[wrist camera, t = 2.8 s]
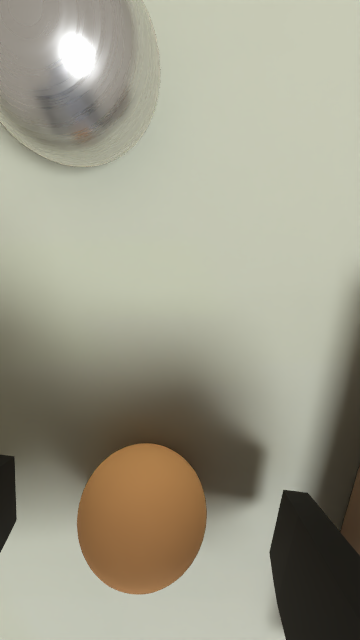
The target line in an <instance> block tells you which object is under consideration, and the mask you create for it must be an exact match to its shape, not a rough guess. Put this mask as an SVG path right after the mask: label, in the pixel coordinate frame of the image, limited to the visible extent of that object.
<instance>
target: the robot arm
mask: <svg viewBox="0 0 360 640" xmlns="http://www.w3.org/2000/svg"><path fill="white" fill-rule="evenodd" d="M15 522H16V492H15V463H14V456H6V455H0V552H1V550H2V548H3V546H4V544H5V542H6V540H7V538H8V536H9V534H10V532H11V530H12V528H13V526H14V524H15ZM270 559H271V566H272V574H273V580H274V587H275V593H276V599H277V604H278V609H279V613H280V617H281V621H282V625H283V629H284V633H285V637H286V640H360V555H359V554H358V553H357V552H356V550H355V549H354V548H353V547H352V546H351V545H350V543H349V542H348V541H347V540H346V539H345V537H344V536H343V535H342V534H341V533H340V531H339V530H338V529H337V528H336V527H335V525H334V524H333V523H332V522H331V521H330V519H329V518H328V517H327V516H326V514H325V513H324V512H323V511H322V510H321V508H320V507H319V506H318V505H317V504H316V502H315V501H314V500H313V499H312V498H311V496H310V495H309V494H308V493H304V492H296V491H288V490H283V494H282V499H281V503H280V508H279V512H278V517H277V521H276V526H275V530H274V535H273V539H272V544H271V548H270Z"/></svg>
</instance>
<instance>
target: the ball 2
mask: <svg viewBox="0 0 360 640" xmlns="http://www.w3.org/2000/svg"><path fill="white" fill-rule="evenodd" d="M206 518H207V510H206V500H205V495H204V491H203V488H202V485H201V483H200V480H199V478H198V476H197V474H196V473H195V471H194V469H193V468H192V467H191V466H190V464H189V463H188V462H187V461H186V460H185V459H184V458H183V457H182V456H180V455H179V454H178V453H176V452H175V451H173V450H171V449H169V448H167V447H164V446H161V445H157V444H150V443H142V444H135V445H130V446H127V447H124V448H122V449H120V450H118V451H116V452H115V453H113V454H111V455H110V456H109V457H108V458H106V459H105V460H104V461H103V462H102V463H101V464H100V465H99V466H98V467H97V468H96V470H95V471H94V472H93V474H92V475H91V477H90V478H89V480H88V482H87V484H86V486H85V488H84V491H83V493H82V496H81V500H80V503H79V508H78V516H77V531H78V539H79V543H80V547H81V550H82V553H83V556H84V558H85V560H86V561H87V563H88V565H89V567H90V568H91V570H92V571H93V572H94V574H95V575H96V576H97V577H98V578H99V579H100V580H101V581H103V582H104V583H105V584H106V585H108V586H109V587H111V588H113V589H115V590H118V591H121V592H124V593H129V594H148V593H153V592H156V591H158V590H161V589H163V588H165V587H167V586H169V585H170V584H172V583H173V582H175V581H176V580H177V579H178V578H179V577H181V576H182V575H183V574H184V572H185V571H186V570H187V569H188V568H189V566H190V565H191V564H192V562H193V561H194V559H195V557H196V555H197V554H198V551H199V549H200V547H201V544H202V541H203V538H204V533H205V528H206Z"/></svg>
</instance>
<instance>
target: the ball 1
mask: <svg viewBox="0 0 360 640" xmlns="http://www.w3.org/2000/svg"><path fill="white" fill-rule="evenodd" d="M160 70H161V69H160V58H159V48H158V43H157V39H156V34H155V31H154V28H153V25H152V22H151V19H150V16H149V13H148V11H147V9H146V6H145V4H144V2H143V0H0V122H1V123H2V124H3V125H4V126H5V128H6V129H7V130H8V131H9V132H10V133H11V134H12V135H13V136H14V137H15V138H16V139H17V140H19V141H20V142H21V143H22V144H23V145H25V146H26V147H28V148H29V149H31V150H32V151H34V152H35V153H37V154H38V155H40V156H42V157H44V158H46V159H49V160H51V161H54V162H57V163H60V164H63V165H68V166H74V167H91V166H98V165H102V164H106V163H109V162H111V161H113V160H115V159H117V158H119V157H120V156H122V155H124V154H125V153H126V152H128V151H129V150H130V149H131V148H132V147H133V146H134V145H135V144H136V143H137V142H138V141H139V140H140V138H141V137H142V135H143V134H144V133H145V131H146V129H147V127H148V126H149V124H150V122H151V119H152V117H153V114H154V112H155V108H156V104H157V100H158V95H159V88H160Z"/></svg>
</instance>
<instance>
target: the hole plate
mask: <svg viewBox="0 0 360 640" xmlns="http://www.w3.org/2000/svg"><path fill="white" fill-rule="evenodd" d="M340 533H341V534H342V535H343V536H344V537H345V539H346V540H347V541H348V542H349V543H350V545H351V546H352V547H353V548H354V549H355V550H356V552H357V553H358V554H359V555H360V466H359V469H358V473H357V476H356V480H355V483H354V486H353V490H352V493H351V497H350V500H349V504H348V507H347V511H346V514H345V518H344V521H343V525H342V528H341V532H340Z"/></svg>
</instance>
